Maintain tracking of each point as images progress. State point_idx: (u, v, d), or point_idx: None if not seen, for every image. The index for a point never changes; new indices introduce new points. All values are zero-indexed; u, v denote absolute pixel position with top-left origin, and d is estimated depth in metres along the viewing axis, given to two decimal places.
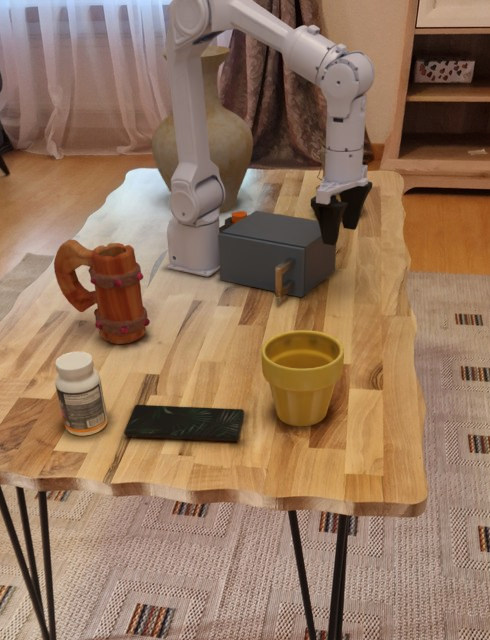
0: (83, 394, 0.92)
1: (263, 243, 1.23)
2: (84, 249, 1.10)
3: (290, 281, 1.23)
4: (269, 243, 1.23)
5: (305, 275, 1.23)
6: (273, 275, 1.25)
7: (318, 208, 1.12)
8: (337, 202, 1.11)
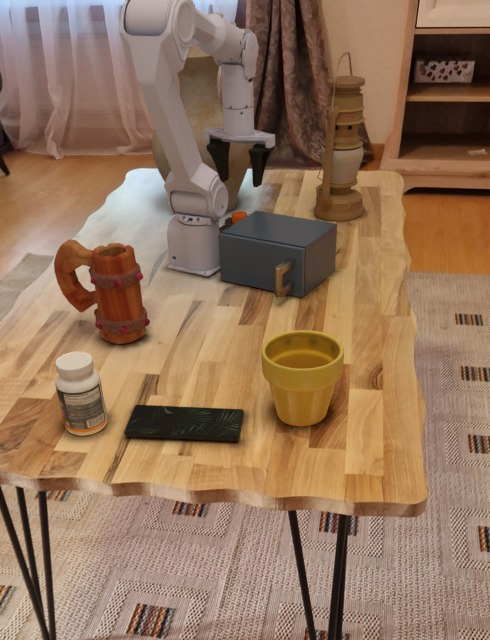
0: (83, 394, 0.92)
1: (263, 243, 1.23)
2: (84, 249, 1.10)
3: (290, 281, 1.23)
4: (269, 243, 1.23)
5: (305, 275, 1.23)
6: (273, 275, 1.25)
7: (262, 155, 1.35)
8: None
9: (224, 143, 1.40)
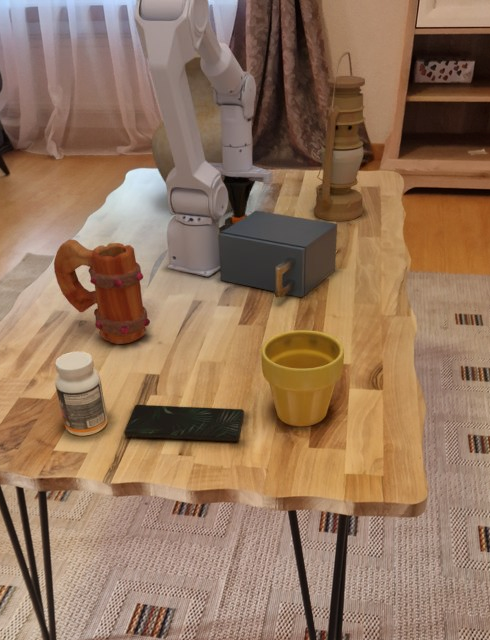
0: (83, 394, 0.92)
1: (263, 243, 1.23)
2: (84, 249, 1.10)
3: (290, 281, 1.23)
4: (269, 243, 1.23)
5: (305, 275, 1.23)
6: (273, 275, 1.25)
7: (244, 188, 1.41)
8: None
9: None
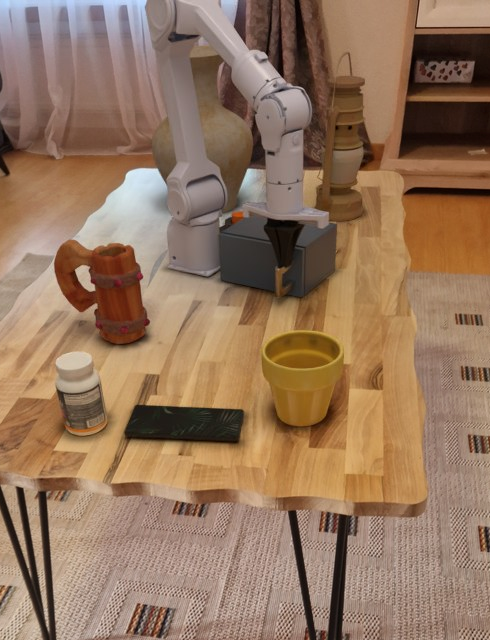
0: (83, 394, 0.92)
1: (263, 243, 1.23)
2: (84, 249, 1.10)
3: (289, 281, 1.23)
4: (269, 243, 1.23)
5: (305, 275, 1.23)
6: (273, 275, 1.25)
7: (292, 233, 1.15)
8: None
9: None
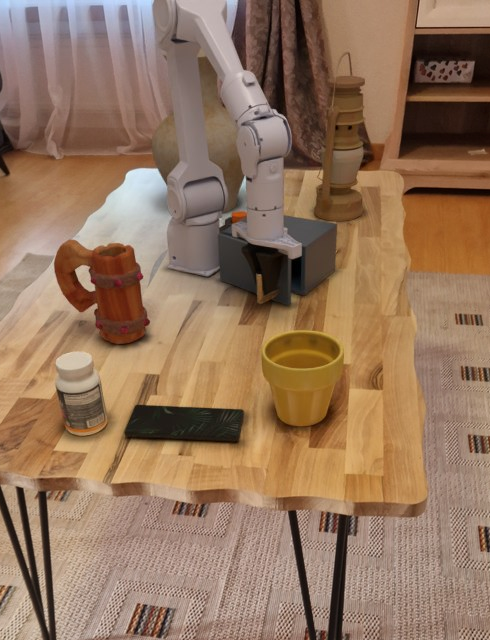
0: (83, 394, 0.92)
1: None
2: (84, 249, 1.10)
3: None
4: None
5: (305, 275, 1.23)
6: None
7: (272, 260, 1.14)
8: None
9: (264, 246, 1.17)
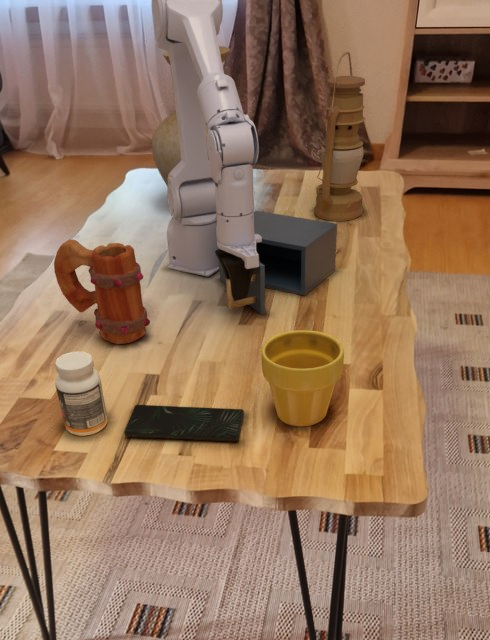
0: (83, 394, 0.92)
1: None
2: (84, 249, 1.10)
3: (250, 295, 1.20)
4: None
5: (305, 275, 1.23)
6: None
7: (235, 267, 1.13)
8: None
9: None
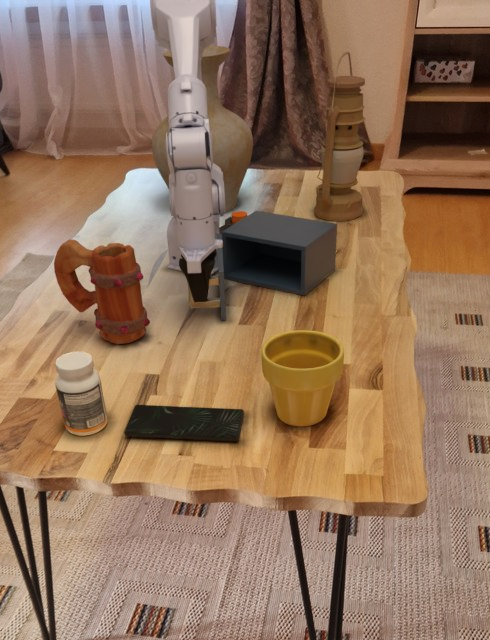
0: (83, 394, 0.92)
1: (218, 254, 1.20)
2: (84, 249, 1.10)
3: (214, 299, 1.19)
4: (219, 256, 1.19)
5: (305, 275, 1.23)
6: None
7: None
8: (205, 261, 1.13)
9: None
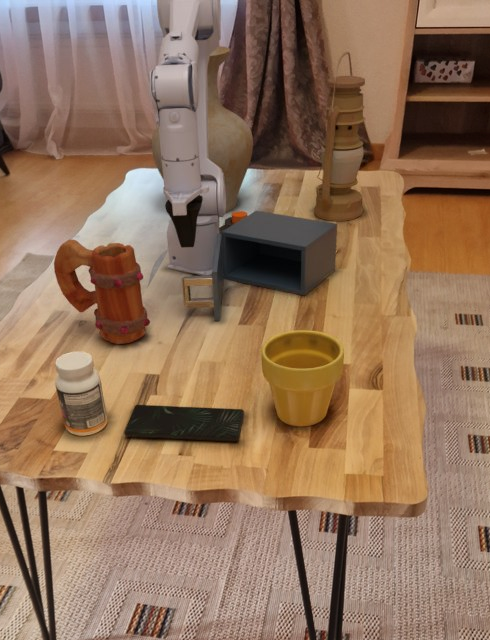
0: (83, 394, 0.92)
1: None
2: (84, 249, 1.10)
3: (208, 299, 1.19)
4: (215, 256, 1.19)
5: (305, 275, 1.23)
6: None
7: None
8: (192, 204, 1.13)
9: None
